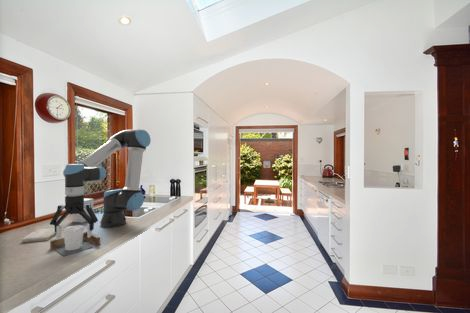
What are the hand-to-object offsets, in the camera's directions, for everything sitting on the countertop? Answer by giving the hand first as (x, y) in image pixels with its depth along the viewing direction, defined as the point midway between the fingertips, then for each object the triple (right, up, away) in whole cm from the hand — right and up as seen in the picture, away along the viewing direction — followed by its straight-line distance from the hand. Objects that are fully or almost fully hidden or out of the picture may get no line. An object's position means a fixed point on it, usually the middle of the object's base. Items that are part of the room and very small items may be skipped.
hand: (74, 237), depth 106 cm
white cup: (0, -5, 0) cm, 5 cm away
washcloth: (-29, -6, +16) cm, 34 cm away
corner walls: (-1, -5, +2) cm, 6 cm away
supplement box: (-28, -5, +45) cm, 53 cm away
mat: (0, -5, 0) cm, 5 cm away
